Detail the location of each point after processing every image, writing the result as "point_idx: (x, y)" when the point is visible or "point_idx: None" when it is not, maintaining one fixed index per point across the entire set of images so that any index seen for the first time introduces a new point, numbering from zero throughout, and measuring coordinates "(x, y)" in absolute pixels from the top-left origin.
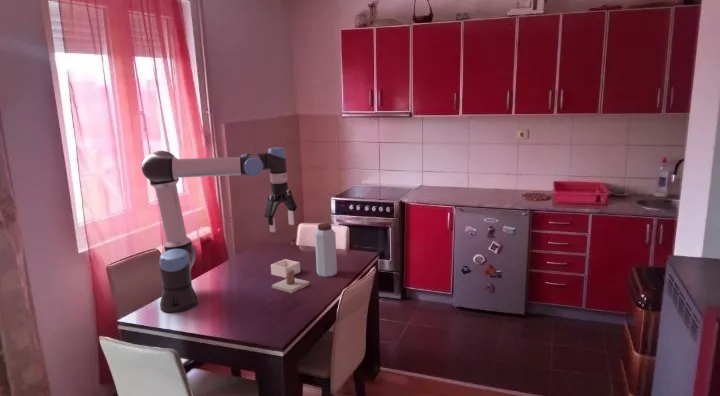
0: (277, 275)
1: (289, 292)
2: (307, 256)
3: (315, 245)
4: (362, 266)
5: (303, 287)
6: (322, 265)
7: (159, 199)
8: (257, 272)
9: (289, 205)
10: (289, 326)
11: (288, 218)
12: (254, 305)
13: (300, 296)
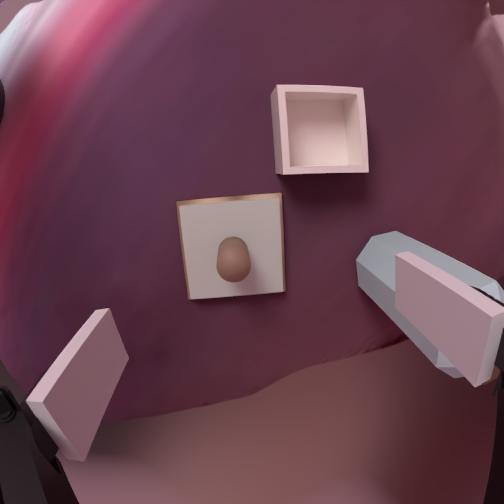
0: (273, 127)
1: (188, 290)
2: (462, 85)
3: None
4: None
5: None
6: (372, 291)
7: None
8: (259, 32)
9: (491, 465)
10: None
11: (429, 277)
12: (71, 272)
13: (196, 330)
